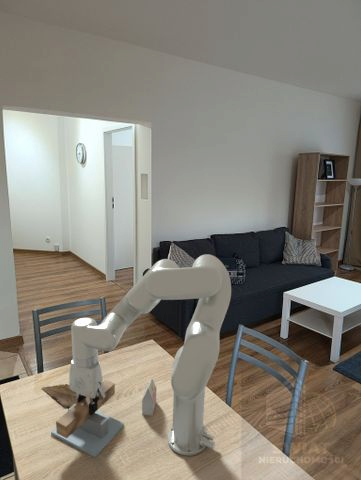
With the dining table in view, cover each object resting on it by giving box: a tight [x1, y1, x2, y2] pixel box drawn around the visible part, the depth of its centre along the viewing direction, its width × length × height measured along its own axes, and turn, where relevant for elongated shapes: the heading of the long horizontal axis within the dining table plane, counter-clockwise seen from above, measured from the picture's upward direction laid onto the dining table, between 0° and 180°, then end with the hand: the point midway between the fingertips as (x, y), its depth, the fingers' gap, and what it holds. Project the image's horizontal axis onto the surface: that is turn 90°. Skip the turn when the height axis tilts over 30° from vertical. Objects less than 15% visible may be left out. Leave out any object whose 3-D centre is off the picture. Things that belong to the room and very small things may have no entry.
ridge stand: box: [50, 404, 125, 458], centre depth 105 cm, size 18×14×6 cm
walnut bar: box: [55, 380, 116, 438], centre depth 104 cm, size 22×4×4 cm, turn 153°
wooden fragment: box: [41, 383, 78, 408], centre depth 121 cm, size 26×11×1 cm, turn 65°
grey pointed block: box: [141, 378, 157, 416], centre depth 116 cm, size 4×7×10 cm, turn 173°
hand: (87, 409), depth 104 cm, fingers closed on walnut bar, 4 cm apart
